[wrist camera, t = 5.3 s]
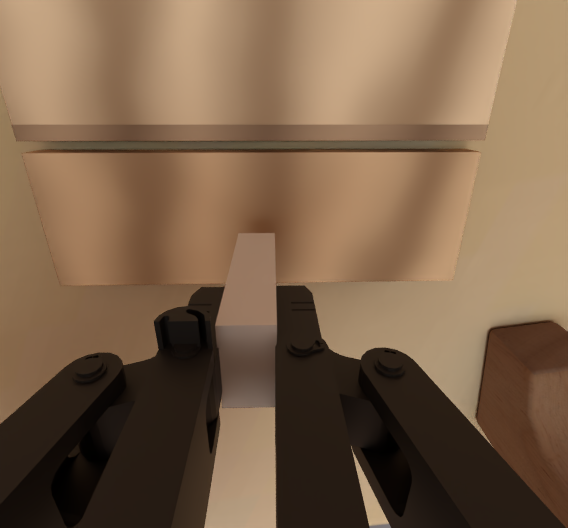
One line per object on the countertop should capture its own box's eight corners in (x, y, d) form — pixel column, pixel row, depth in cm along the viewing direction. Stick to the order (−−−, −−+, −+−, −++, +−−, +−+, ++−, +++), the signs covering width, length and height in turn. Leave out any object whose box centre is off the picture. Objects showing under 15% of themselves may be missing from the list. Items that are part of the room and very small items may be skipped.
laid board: (38, 137, 17) (16, 140, 16) (-8, -25, 15) (-39, -40, 13) (467, 137, 18) (484, 140, 17) (500, -18, 15) (525, -32, 14)
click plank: (74, 273, 20) (60, 285, 19) (40, 149, 18) (21, 153, 16) (441, 269, 21) (452, 280, 20) (465, 149, 18) (481, 152, 17)
